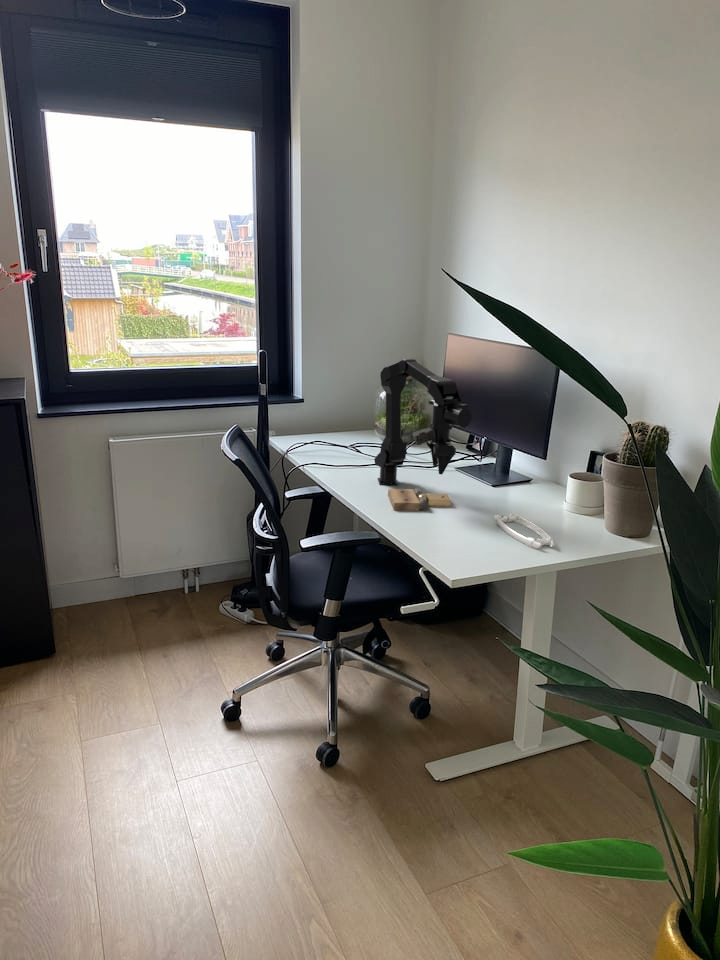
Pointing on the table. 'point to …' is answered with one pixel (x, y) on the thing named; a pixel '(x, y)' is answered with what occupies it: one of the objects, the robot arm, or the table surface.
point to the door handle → (528, 541)
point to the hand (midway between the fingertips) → (437, 470)
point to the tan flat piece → (407, 499)
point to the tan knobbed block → (436, 499)
